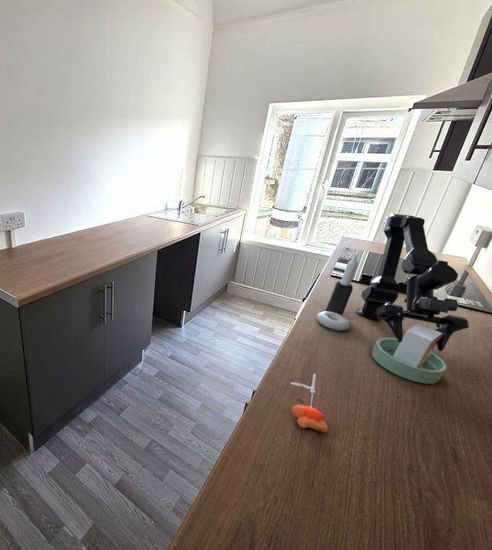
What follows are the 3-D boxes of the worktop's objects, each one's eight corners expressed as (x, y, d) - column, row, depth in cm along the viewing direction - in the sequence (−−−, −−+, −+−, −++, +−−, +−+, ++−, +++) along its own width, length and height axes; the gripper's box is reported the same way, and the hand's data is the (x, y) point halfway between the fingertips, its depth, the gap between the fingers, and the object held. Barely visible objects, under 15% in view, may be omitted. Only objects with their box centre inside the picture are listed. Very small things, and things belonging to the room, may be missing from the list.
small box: (414, 371, 83) (432, 341, 78) (390, 359, 87) (406, 330, 83) (425, 362, 87) (443, 333, 82) (402, 351, 91) (418, 322, 86)
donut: (315, 315, 114) (316, 326, 106) (317, 307, 112) (319, 318, 104) (345, 322, 110) (349, 335, 101) (349, 314, 108) (353, 327, 100)
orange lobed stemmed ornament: (288, 400, 73) (302, 362, 69) (331, 427, 67) (349, 387, 62) (277, 412, 70) (291, 373, 65) (320, 442, 63) (339, 400, 58)
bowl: (379, 343, 98) (385, 332, 96) (443, 370, 87) (450, 358, 85) (364, 360, 89) (370, 348, 88) (433, 393, 78) (441, 380, 77)
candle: (340, 320, 111) (366, 257, 101) (325, 315, 113) (348, 254, 103) (340, 314, 115) (364, 254, 105) (325, 310, 117) (347, 251, 107)
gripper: (397, 278, 84) (395, 331, 79) (484, 292, 78) (488, 351, 73) (376, 291, 94) (374, 339, 89) (452, 305, 88) (454, 357, 83)
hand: (419, 346), depth 83 cm, fingers closed on small box, 9 cm apart
